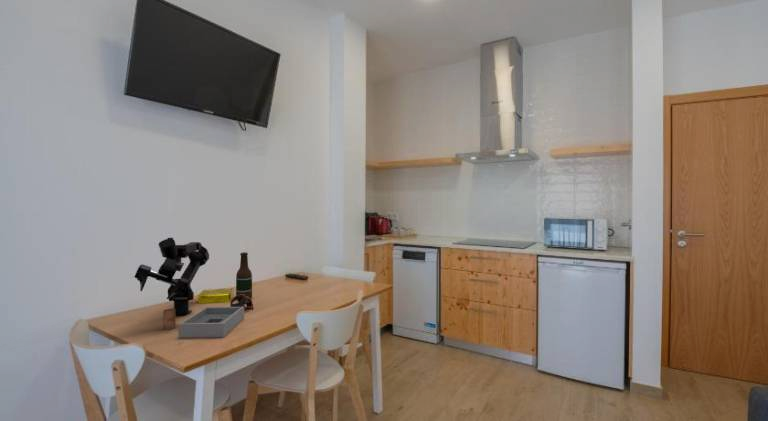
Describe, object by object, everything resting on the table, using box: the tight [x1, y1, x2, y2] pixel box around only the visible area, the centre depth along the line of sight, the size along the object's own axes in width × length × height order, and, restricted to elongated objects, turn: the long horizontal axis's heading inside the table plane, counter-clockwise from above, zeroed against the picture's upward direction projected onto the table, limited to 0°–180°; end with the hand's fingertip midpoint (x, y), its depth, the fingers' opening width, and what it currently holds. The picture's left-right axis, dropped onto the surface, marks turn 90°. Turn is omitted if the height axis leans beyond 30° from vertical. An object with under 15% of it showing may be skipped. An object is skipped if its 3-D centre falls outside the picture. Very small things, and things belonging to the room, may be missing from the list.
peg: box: [163, 308, 176, 331], centre depth 139 cm, size 4×4×7 cm
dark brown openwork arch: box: [229, 294, 255, 310], centre depth 165 cm, size 12×9×8 cm
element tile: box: [197, 287, 234, 305], centre depth 183 cm, size 15×15×5 cm
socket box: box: [177, 306, 245, 339], centre depth 140 cm, size 22×16×5 cm
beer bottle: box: [235, 251, 253, 300], centre depth 184 cm, size 8×8×24 cm
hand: (154, 294), depth 134 cm, fingers open, 9 cm apart
